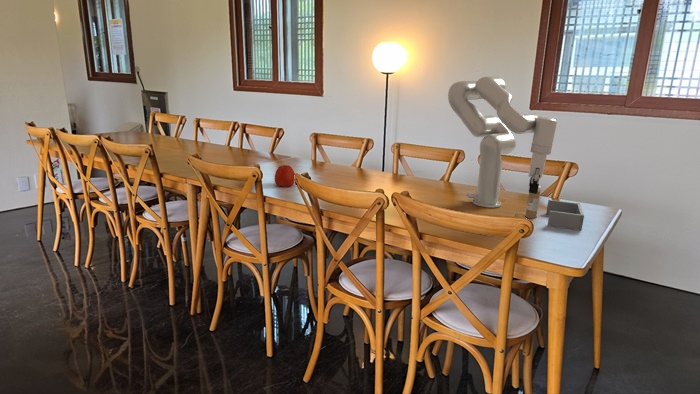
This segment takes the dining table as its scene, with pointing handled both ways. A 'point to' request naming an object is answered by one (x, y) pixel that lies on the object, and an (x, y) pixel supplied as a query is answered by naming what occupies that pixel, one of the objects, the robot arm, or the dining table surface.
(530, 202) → the sprinkles bottle
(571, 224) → the open-side box
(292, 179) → the apple
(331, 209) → the dining table surface
